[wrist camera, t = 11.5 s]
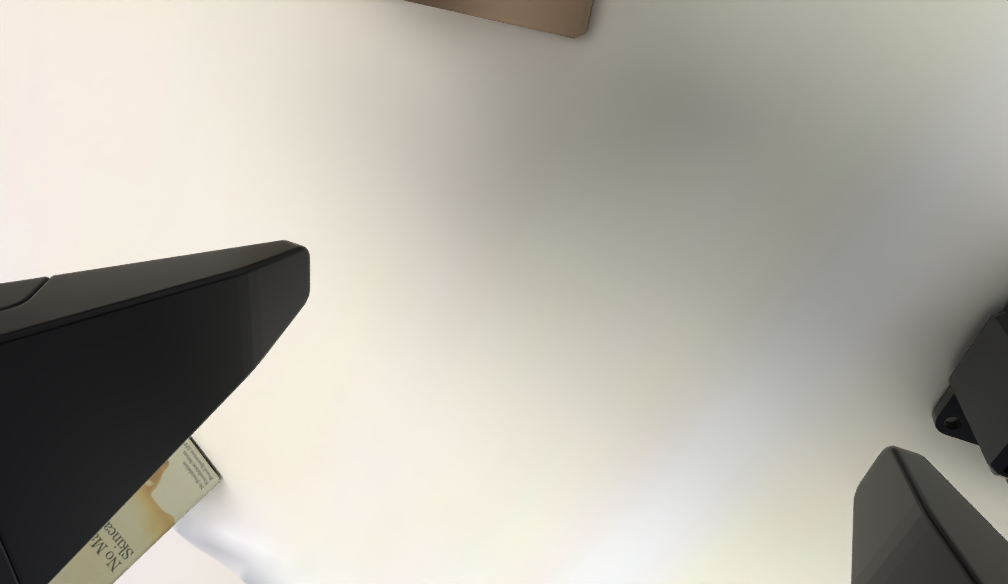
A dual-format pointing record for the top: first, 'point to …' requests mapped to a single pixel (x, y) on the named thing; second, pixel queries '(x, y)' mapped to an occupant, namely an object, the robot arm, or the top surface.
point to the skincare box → (142, 519)
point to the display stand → (526, 13)
